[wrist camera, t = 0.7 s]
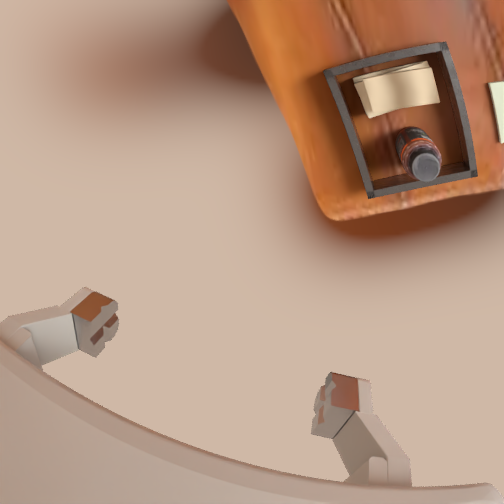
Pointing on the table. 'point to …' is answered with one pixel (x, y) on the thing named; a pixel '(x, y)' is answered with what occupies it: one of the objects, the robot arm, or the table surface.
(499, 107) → the mat
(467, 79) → the table surface
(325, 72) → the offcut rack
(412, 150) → the supplement bottle
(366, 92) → the offcut stack
